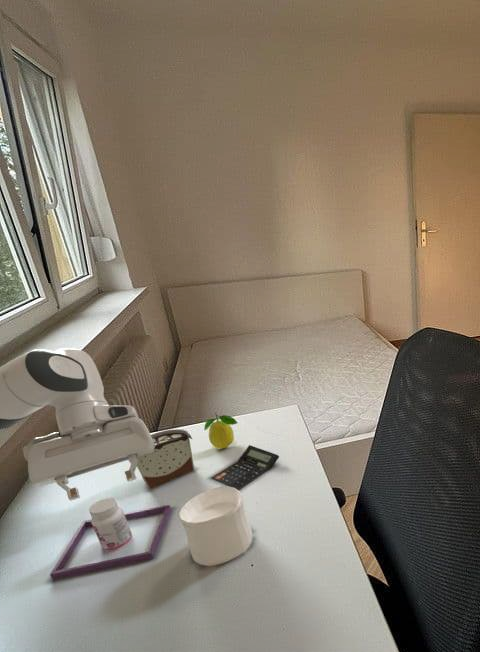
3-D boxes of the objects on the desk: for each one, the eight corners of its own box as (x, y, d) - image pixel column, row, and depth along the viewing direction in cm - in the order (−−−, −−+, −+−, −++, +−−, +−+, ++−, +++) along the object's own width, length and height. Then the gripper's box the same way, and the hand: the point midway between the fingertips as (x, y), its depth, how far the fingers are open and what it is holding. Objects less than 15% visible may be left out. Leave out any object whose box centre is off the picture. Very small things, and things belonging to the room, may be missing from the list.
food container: (191, 460, 104) (180, 423, 101) (201, 469, 100) (190, 430, 96) (134, 485, 97) (119, 445, 93) (142, 495, 92) (127, 454, 89)
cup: (265, 538, 79) (254, 493, 75) (220, 579, 71) (206, 531, 67) (228, 522, 83) (216, 480, 79) (181, 560, 75) (166, 514, 71)
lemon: (243, 447, 109) (234, 411, 105) (221, 458, 105) (211, 420, 101) (229, 439, 113) (221, 404, 109) (207, 449, 109) (197, 413, 105)
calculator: (211, 481, 96) (207, 469, 95) (253, 455, 105) (250, 444, 104) (239, 493, 91) (236, 481, 90) (281, 465, 100) (278, 453, 99)
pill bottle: (95, 551, 78) (79, 513, 74) (116, 532, 82) (101, 495, 79) (119, 553, 77) (103, 515, 74) (138, 534, 81) (124, 496, 78)
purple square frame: (54, 583, 72) (49, 574, 71) (86, 529, 84) (83, 521, 83) (154, 562, 75) (151, 553, 74) (172, 512, 87) (169, 504, 86)
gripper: (14, 436, 80) (30, 507, 76) (141, 403, 90) (160, 465, 86) (27, 447, 85) (42, 514, 82) (145, 415, 95) (163, 474, 92)
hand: (104, 489), depth 84 cm, fingers open, 8 cm apart
